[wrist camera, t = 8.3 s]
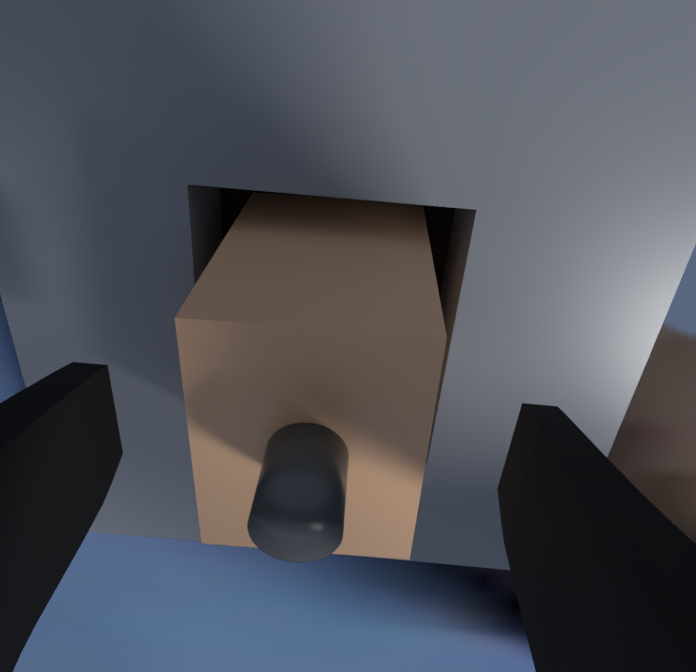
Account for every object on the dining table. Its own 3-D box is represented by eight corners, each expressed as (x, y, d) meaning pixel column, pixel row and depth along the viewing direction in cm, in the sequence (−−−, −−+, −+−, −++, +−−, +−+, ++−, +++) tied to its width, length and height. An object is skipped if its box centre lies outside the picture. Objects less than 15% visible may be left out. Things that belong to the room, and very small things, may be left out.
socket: (717, -3, 11) (796, -1, 9) (538, 505, 18) (558, 574, 16) (-9, -65, 11) (-101, -76, 9) (101, 466, 18) (64, 529, 16)
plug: (422, 203, 14) (459, 405, 7) (400, 377, 16) (413, 640, 10) (252, 192, 14) (134, 381, 7) (258, 366, 16) (176, 622, 10)
